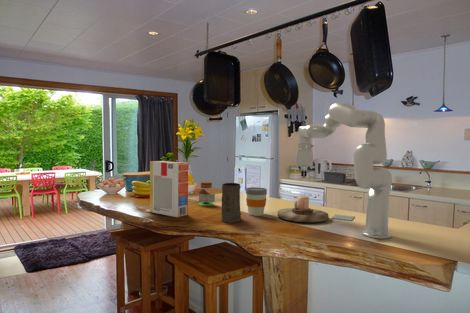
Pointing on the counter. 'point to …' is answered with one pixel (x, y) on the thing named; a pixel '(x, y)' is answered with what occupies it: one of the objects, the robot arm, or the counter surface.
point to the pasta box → (169, 188)
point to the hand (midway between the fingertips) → (303, 177)
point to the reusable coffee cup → (256, 200)
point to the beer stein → (231, 203)
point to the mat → (343, 217)
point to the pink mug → (303, 203)
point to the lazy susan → (302, 215)
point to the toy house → (206, 195)
